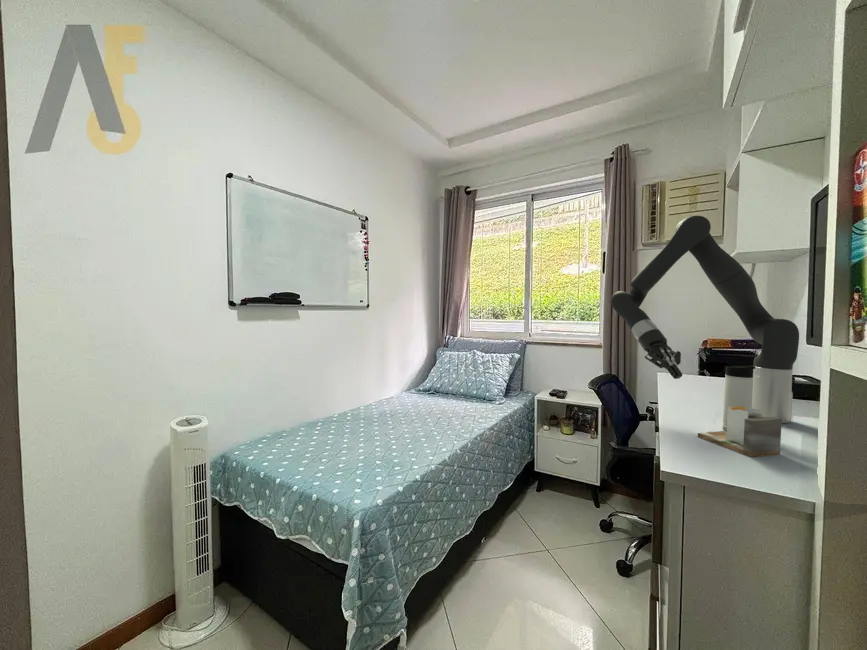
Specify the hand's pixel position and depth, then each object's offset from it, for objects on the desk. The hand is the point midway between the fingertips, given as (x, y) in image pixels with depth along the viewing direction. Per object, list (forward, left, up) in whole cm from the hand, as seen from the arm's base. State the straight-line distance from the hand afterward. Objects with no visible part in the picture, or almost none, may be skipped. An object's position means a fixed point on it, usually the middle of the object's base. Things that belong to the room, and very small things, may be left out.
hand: (678, 377), depth 110 cm
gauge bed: (0, +18, -15) cm, 23 cm away
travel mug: (-11, +10, -15) cm, 21 cm away
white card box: (+1, +19, -13) cm, 24 cm away
